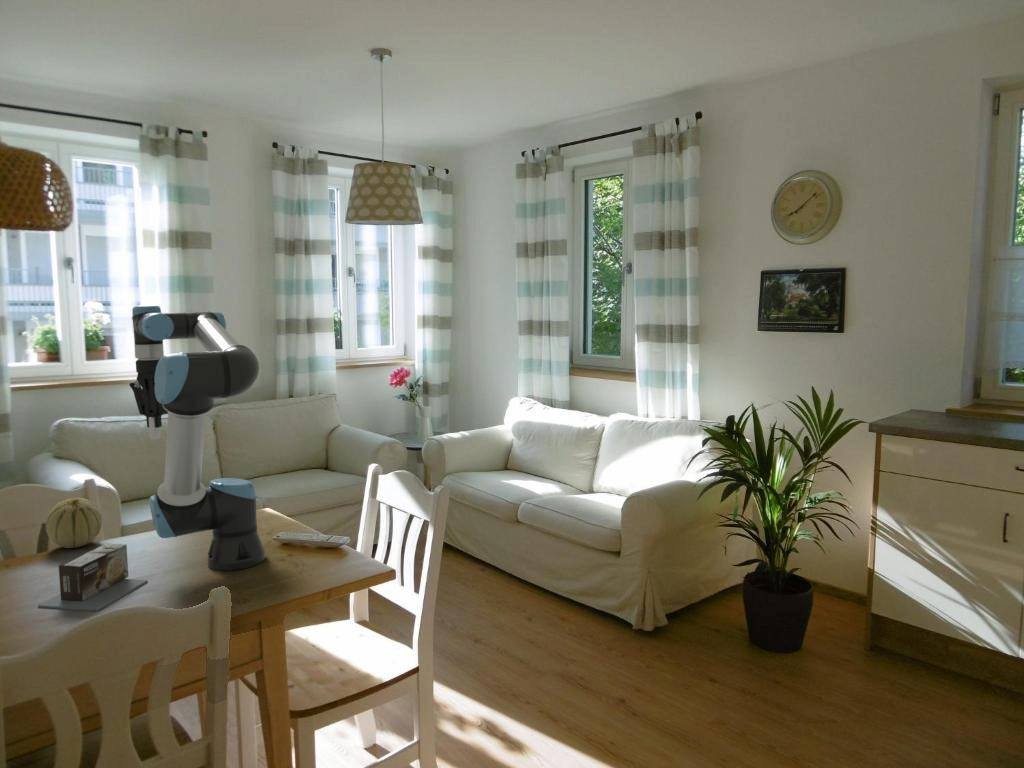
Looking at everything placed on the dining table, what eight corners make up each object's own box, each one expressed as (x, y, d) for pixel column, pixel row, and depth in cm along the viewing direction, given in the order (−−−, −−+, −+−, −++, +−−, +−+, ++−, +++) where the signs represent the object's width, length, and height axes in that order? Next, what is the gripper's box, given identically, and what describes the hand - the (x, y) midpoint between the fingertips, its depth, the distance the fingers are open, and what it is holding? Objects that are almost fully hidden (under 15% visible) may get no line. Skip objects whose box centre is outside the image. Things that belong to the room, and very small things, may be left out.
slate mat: (147, 582, 190) (147, 580, 190) (97, 611, 172) (97, 609, 172) (92, 578, 192) (92, 577, 192) (38, 607, 175) (37, 605, 175)
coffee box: (105, 542, 192) (57, 563, 176) (127, 544, 191) (80, 565, 175) (108, 576, 193) (60, 600, 177) (129, 577, 192) (83, 602, 176)
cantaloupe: (80, 536, 228) (77, 489, 226) (115, 541, 223) (111, 493, 221) (35, 551, 214) (30, 501, 212) (70, 557, 209) (66, 506, 207)
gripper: (178, 357, 215) (183, 436, 218) (138, 357, 217) (143, 435, 220) (161, 359, 208) (167, 441, 211) (120, 359, 210) (126, 440, 213)
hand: (155, 438), depth 215 cm, fingers closed
